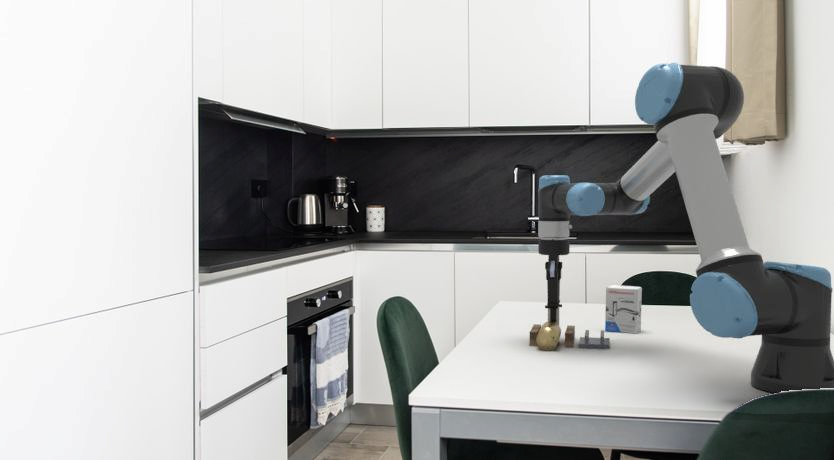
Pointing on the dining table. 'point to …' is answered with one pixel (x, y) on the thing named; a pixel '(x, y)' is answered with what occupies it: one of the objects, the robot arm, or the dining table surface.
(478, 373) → the dining table surface
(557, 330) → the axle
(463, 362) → the dining table surface
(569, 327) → the wooden rail pair
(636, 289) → the ink box
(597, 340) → the cradle
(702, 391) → the dining table surface
